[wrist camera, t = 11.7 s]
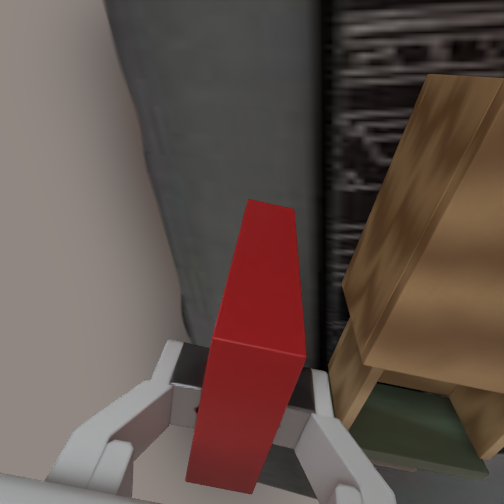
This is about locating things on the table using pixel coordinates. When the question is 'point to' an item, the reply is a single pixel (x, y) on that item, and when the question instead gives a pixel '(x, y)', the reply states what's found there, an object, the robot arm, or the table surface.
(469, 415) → the drawer
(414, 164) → the cabinet
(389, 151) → the table surface
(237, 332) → the card box
